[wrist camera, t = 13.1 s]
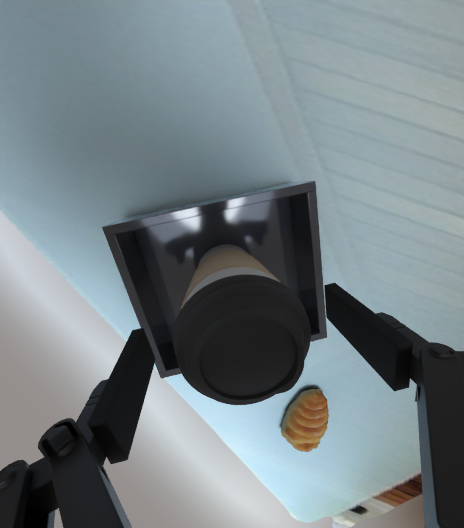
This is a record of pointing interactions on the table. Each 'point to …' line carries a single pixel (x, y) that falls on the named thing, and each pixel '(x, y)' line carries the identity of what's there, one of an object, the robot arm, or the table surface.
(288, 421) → the pastry
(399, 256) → the table surface
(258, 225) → the dark grey open box
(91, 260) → the table surface
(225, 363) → the coffee cup
